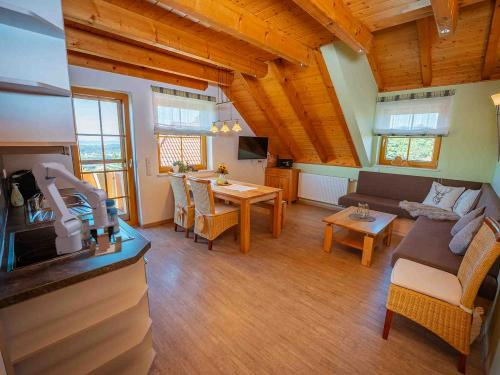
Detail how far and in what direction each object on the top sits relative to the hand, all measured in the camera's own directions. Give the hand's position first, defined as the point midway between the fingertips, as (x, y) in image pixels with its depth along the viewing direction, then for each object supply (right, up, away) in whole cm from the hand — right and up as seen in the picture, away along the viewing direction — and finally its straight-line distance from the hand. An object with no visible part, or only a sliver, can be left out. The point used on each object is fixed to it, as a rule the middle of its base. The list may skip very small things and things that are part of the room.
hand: (104, 242), depth 114 cm
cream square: (0, -4, +1) cm, 4 cm away
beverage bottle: (-10, -1, +24) cm, 27 cm away
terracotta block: (0, -2, +1) cm, 2 cm away
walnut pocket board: (-2, -4, +5) cm, 7 cm away
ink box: (-21, -3, +16) cm, 26 cm away
